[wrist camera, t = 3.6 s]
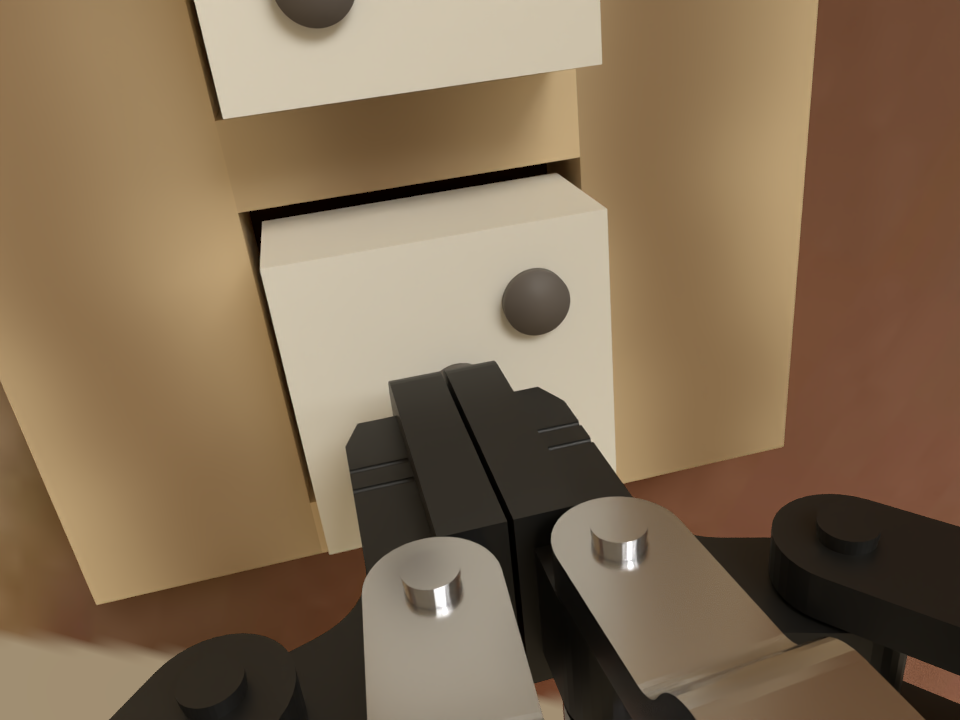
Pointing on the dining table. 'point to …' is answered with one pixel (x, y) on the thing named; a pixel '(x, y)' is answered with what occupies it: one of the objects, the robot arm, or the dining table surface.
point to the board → (345, 171)
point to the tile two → (384, 46)
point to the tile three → (437, 311)
